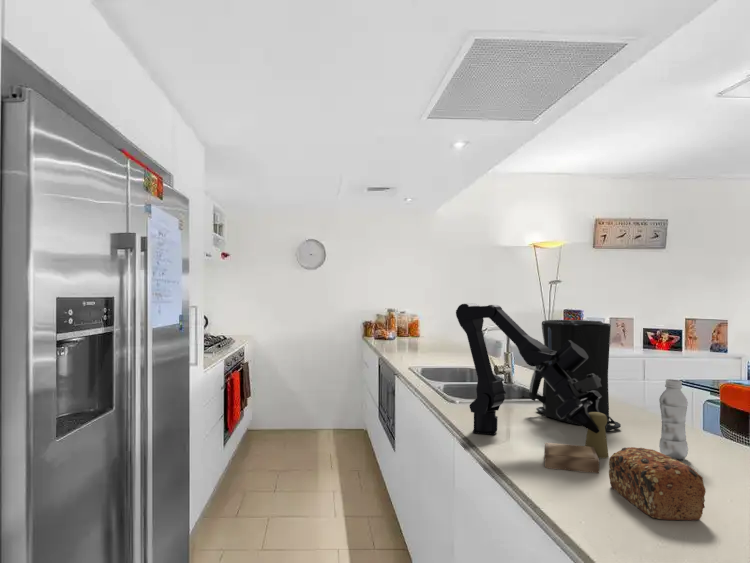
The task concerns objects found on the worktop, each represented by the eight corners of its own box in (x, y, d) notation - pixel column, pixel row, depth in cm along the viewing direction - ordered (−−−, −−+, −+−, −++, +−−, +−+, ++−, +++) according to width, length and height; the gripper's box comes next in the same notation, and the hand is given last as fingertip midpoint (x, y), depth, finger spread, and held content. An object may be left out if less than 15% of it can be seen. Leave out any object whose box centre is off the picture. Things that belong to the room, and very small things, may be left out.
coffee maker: (561, 407, 204) (562, 317, 205) (646, 425, 177) (646, 321, 178) (521, 413, 191) (522, 318, 192) (606, 434, 164) (607, 322, 165)
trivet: (545, 467, 131) (545, 454, 131) (544, 454, 142) (544, 441, 142) (599, 473, 127) (599, 459, 127) (593, 458, 139) (593, 446, 139)
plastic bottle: (678, 463, 136) (678, 383, 137) (653, 455, 142) (653, 379, 143) (693, 460, 139) (694, 381, 140) (669, 453, 145) (669, 377, 146)
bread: (706, 523, 100) (707, 468, 101) (649, 521, 100) (649, 467, 101) (655, 487, 119) (655, 441, 119) (606, 486, 119) (606, 440, 119)
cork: (611, 459, 139) (611, 415, 139) (586, 457, 140) (586, 414, 140) (606, 452, 145) (606, 410, 145) (582, 450, 146) (582, 409, 146)
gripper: (568, 367, 138) (612, 417, 131) (594, 361, 152) (636, 406, 145) (538, 393, 143) (579, 444, 136) (566, 385, 157) (605, 431, 150)
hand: (601, 430), depth 141 cm, fingers closed on cork, 5 cm apart
